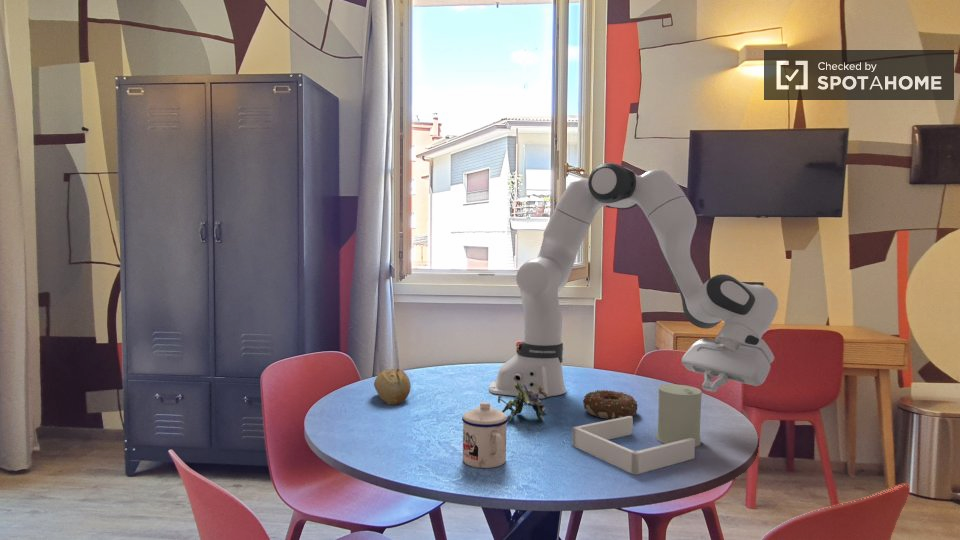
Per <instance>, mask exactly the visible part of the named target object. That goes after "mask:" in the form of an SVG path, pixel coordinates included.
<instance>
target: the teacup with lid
mask: <svg viewBox="0 0 960 540" xmlns="http://www.w3.org/2000/svg"><path fill="white" fill-rule="evenodd" d="M461 421H462V460H463V462H464V464H465V465H468V466H469V467H473V468H479V469H493V468H497V467H500V466H502V465H504V464H505V463H506V462H507V461H506V460H507V424H508V422H509V419H508V416H507V414H506V413H505V412H504V413H503V412H502V411H501V410H498V409H495V408H494V407H492V406H491V403H490V402H488V401H483V402H481V403H480V404H479V406H478V407H475V408H474V409H471V410H468V411H466V412H464V413H463V415H462V418H461Z"/></svg>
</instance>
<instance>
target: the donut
mask: <svg viewBox="0 0 960 540" xmlns="http://www.w3.org/2000/svg"><path fill="white" fill-rule="evenodd" d="M582 403H583V408H584V409H585V411H586V412H588V414H590V415H591V416H594V417H598V418H602V419H607V420H611V419H616V418H621V417H626V416H632V417H633V416H634V415H637V413H638V412H637V410H638V401H636V400H635V398H634V397H633V396H632V395H630V394H627V393H625V392H621V391H619V392H618V391H614V390H608V389H606V390H605V389H604V390H602V389H601V390H595V391H589V392H588V393H586V394H585V395H584V398H583V399H582Z"/></svg>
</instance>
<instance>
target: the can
mask: <svg viewBox="0 0 960 540" xmlns="http://www.w3.org/2000/svg"><path fill="white" fill-rule="evenodd" d="M702 394H703V391H702V390H701V389H699V388H697V387H695V386H691V385H687V384H686V385H684V384H676V383H675V384H674V383H672V384H662V385H660V386H658V410H657V411H658V412H657V413H658V416H657V435H656V440H657V441H658V442H660V443H662V445H664V444H668V443H672V442H676V441H680V440H684V439H688V438H693V439H695V448H696V447H699V446H700V445H701V411H702V410H701V409H702Z"/></svg>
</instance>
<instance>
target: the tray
mask: <svg viewBox="0 0 960 540" xmlns="http://www.w3.org/2000/svg"><path fill="white" fill-rule="evenodd" d="M633 422H634V417H633V416H626V417H621V418H616V419H607V420H603V421H597V422H592V423H588V424H583V425H578V426H573V427H572V433H571V434H572V435H571V437H572V439H571V441H572V442H571V445H572V447H575V448H576V449H578V450H581V451H583V452H585V453H587V454H589V455H591V456H593V457H595V458H598V459H600V460H602V461H604V462H606V463H608V464H611V465H612V466H615V467H617V468H619V469H621V470H623V471H625V472H627V473H629V474H631V475H634V476H636V475H640V474H644V473H647V472H651V471H655V470H658V469H662V468H665V467H669V466H672V465H676V464H679V463H683V462H687V461H690V460H694V459H695V451H696V450H695V449H696V447H695V439H693V438H688V439H684V440H680V441H676V442H672V443H668V444H660V445H656V446H651V447H648V448H644V449H640V450H633V449H630V448H627V447H625V446H623V445H620V444H618V443H617V442H616V443H615V442H613V441H611V440H612V439H613V440H614V439H617V438H621V437H627V436H630V435H631V436H632V435H633V424H634V423H633Z"/></svg>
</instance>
